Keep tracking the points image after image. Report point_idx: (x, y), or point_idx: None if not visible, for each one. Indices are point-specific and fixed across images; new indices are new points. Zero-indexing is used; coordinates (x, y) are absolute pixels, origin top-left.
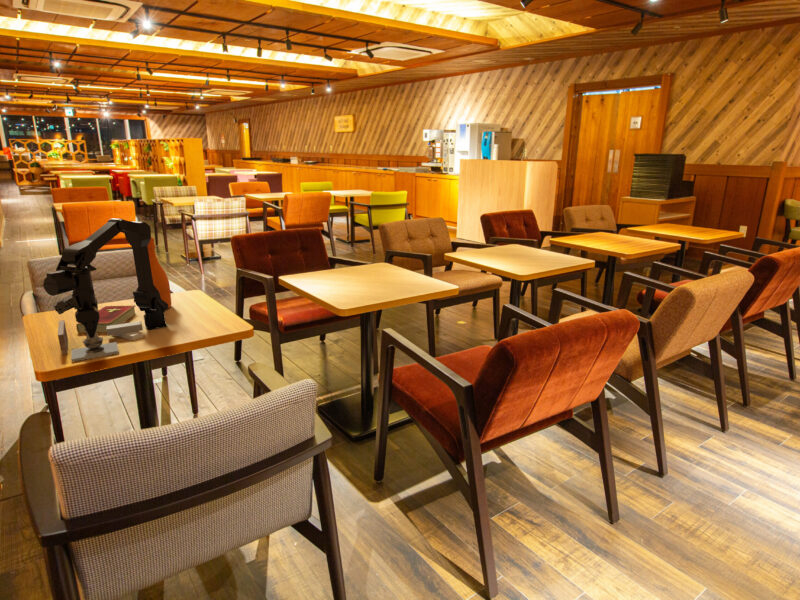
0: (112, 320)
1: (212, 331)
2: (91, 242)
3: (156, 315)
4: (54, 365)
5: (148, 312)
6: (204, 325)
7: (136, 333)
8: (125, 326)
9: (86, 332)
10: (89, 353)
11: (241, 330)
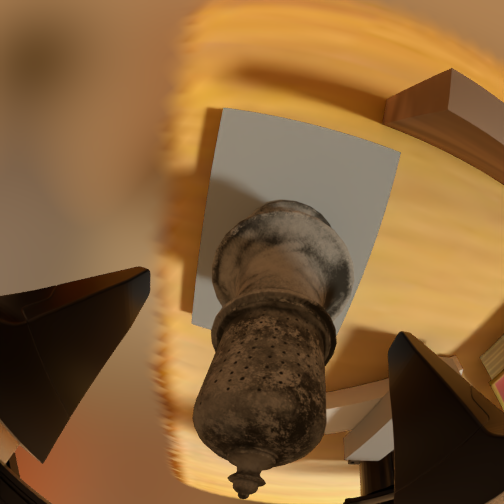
0: (499, 392)
1: (220, 476)
2: None
3: (363, 486)
4: (247, 36)
5: (386, 488)
6: (275, 485)
7: (331, 423)
8: (379, 430)
9: (265, 287)
10: (249, 211)
11: (190, 483)
